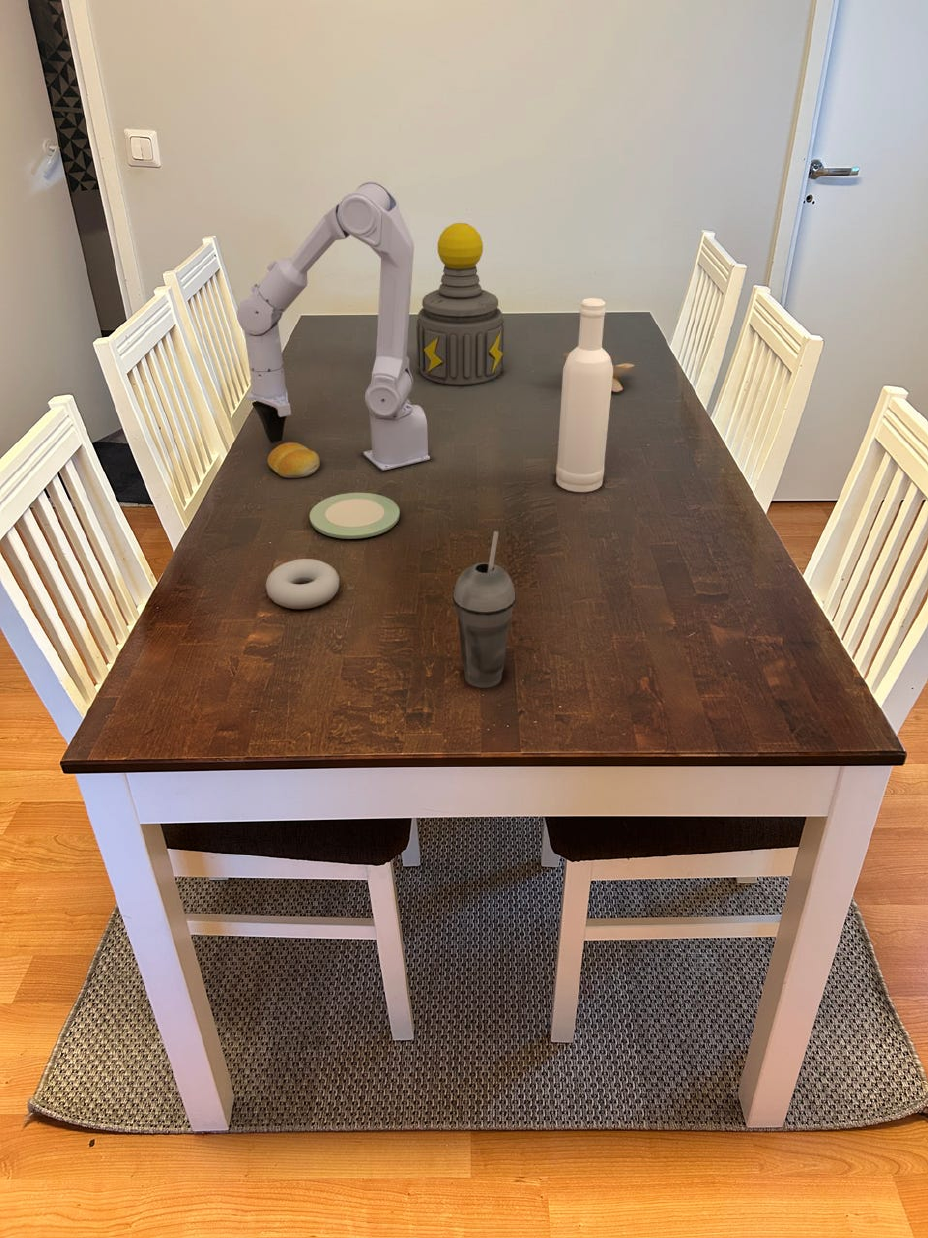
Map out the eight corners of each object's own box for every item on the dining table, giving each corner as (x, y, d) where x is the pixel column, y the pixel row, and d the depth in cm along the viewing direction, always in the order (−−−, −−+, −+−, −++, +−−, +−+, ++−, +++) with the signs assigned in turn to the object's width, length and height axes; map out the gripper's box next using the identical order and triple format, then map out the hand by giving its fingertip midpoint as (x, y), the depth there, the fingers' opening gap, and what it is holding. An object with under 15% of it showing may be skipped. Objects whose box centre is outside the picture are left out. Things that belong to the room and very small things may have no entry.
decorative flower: (650, 374, 193) (647, 330, 186) (627, 404, 187) (623, 359, 180) (585, 366, 200) (580, 323, 193) (561, 393, 194) (555, 350, 187)
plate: (376, 491, 153) (376, 484, 153) (415, 527, 143) (415, 520, 143) (296, 511, 148) (295, 504, 147) (331, 550, 138) (331, 543, 137)
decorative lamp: (451, 351, 210) (450, 208, 193) (520, 368, 201) (526, 220, 184) (398, 374, 198) (392, 225, 181) (470, 394, 189) (471, 238, 172)
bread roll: (289, 484, 156) (286, 462, 153) (261, 466, 161) (259, 445, 159) (330, 470, 160) (328, 448, 158) (302, 453, 166) (300, 432, 163)
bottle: (612, 481, 156) (630, 300, 139) (584, 497, 152) (599, 311, 134) (574, 467, 161) (587, 290, 144) (545, 482, 156) (556, 301, 139)
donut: (258, 586, 130) (280, 621, 122) (254, 565, 128) (277, 599, 120) (325, 569, 134) (351, 602, 126) (323, 548, 132) (349, 580, 124)
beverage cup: (451, 659, 116) (449, 517, 104) (509, 656, 116) (514, 515, 105) (455, 696, 110) (454, 550, 98) (516, 693, 110) (522, 547, 99)
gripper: (229, 357, 162) (240, 430, 169) (258, 383, 151) (268, 460, 159) (268, 351, 164) (277, 423, 172) (298, 376, 154) (306, 451, 162)
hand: (275, 440), depth 166 cm, fingers closed
